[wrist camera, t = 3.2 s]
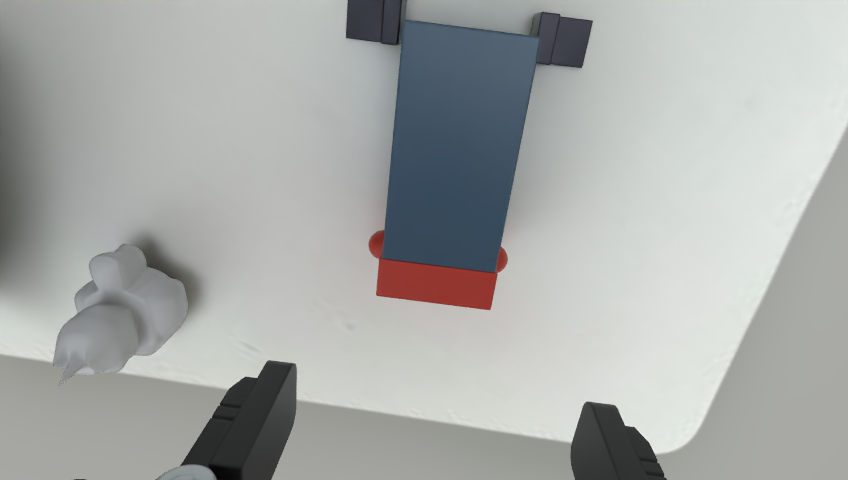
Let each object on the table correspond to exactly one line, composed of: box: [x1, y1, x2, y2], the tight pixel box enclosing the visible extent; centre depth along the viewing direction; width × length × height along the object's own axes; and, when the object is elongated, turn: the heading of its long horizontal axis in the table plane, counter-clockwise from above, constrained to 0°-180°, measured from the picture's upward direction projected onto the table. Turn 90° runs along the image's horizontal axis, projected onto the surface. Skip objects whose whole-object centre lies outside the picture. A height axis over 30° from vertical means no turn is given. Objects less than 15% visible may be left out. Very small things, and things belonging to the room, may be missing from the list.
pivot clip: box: [346, 0, 593, 68], centre depth 21 cm, size 11×2×2 cm, turn 83°
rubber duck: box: [53, 244, 188, 385], centre depth 25 cm, size 5×7×8 cm
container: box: [369, 20, 541, 310], centre depth 22 cm, size 7×11×6 cm, turn 173°
